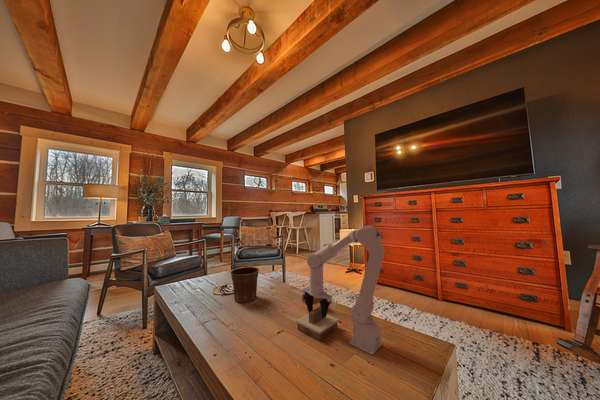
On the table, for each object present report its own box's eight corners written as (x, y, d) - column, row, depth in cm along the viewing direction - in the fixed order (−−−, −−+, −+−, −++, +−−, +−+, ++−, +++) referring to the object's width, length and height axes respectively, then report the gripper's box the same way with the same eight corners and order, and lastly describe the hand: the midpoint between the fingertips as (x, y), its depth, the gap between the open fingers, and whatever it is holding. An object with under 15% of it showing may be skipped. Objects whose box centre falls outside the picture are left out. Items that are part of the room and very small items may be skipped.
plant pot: (224, 303, 117) (224, 273, 118) (240, 292, 133) (240, 266, 134) (250, 306, 113) (250, 275, 114) (264, 294, 128) (263, 267, 129)
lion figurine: (303, 314, 103) (303, 295, 103) (300, 309, 108) (300, 291, 108) (331, 309, 107) (330, 291, 108) (326, 305, 112) (326, 288, 113)
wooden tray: (337, 328, 90) (337, 321, 90) (319, 341, 82) (319, 333, 82) (315, 318, 99) (315, 312, 99) (297, 329, 90) (297, 322, 90)
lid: (338, 321, 90) (338, 309, 91) (319, 334, 81) (319, 321, 81) (315, 311, 99) (315, 300, 100) (295, 322, 90) (295, 310, 90)
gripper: (336, 283, 89) (336, 316, 88) (310, 275, 99) (310, 305, 98) (325, 287, 84) (326, 322, 83) (299, 279, 94) (299, 311, 93)
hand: (317, 314), depth 90 cm, fingers open, 7 cm apart
